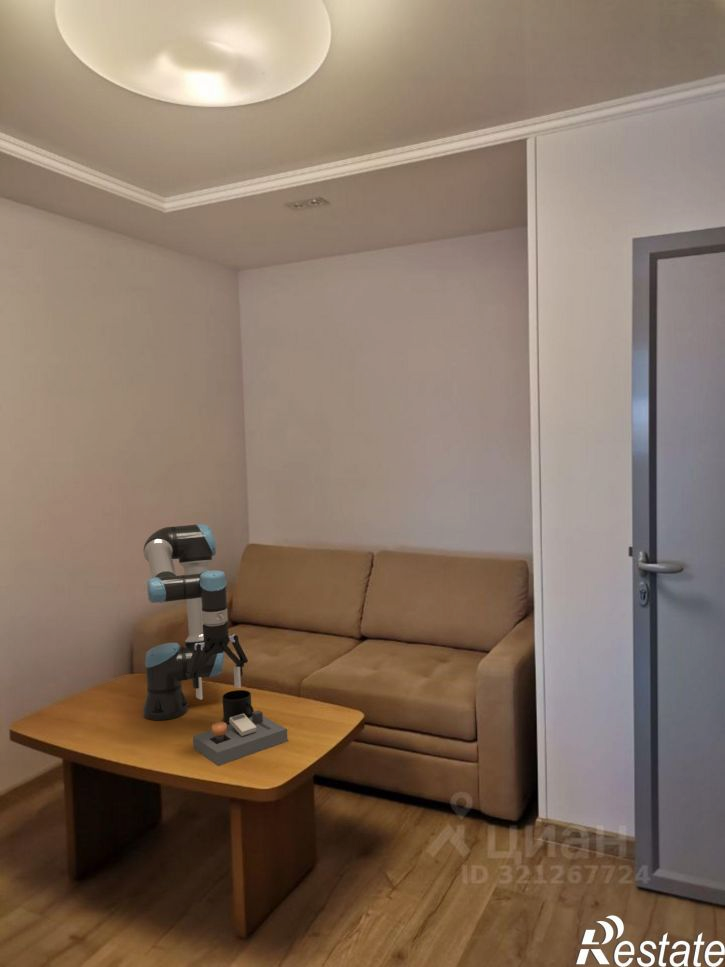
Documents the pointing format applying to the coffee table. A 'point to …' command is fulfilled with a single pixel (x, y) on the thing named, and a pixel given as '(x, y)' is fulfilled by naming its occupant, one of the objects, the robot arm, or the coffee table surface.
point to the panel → (240, 742)
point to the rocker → (242, 724)
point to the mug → (236, 704)
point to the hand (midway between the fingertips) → (218, 692)
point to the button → (219, 731)
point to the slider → (257, 716)
